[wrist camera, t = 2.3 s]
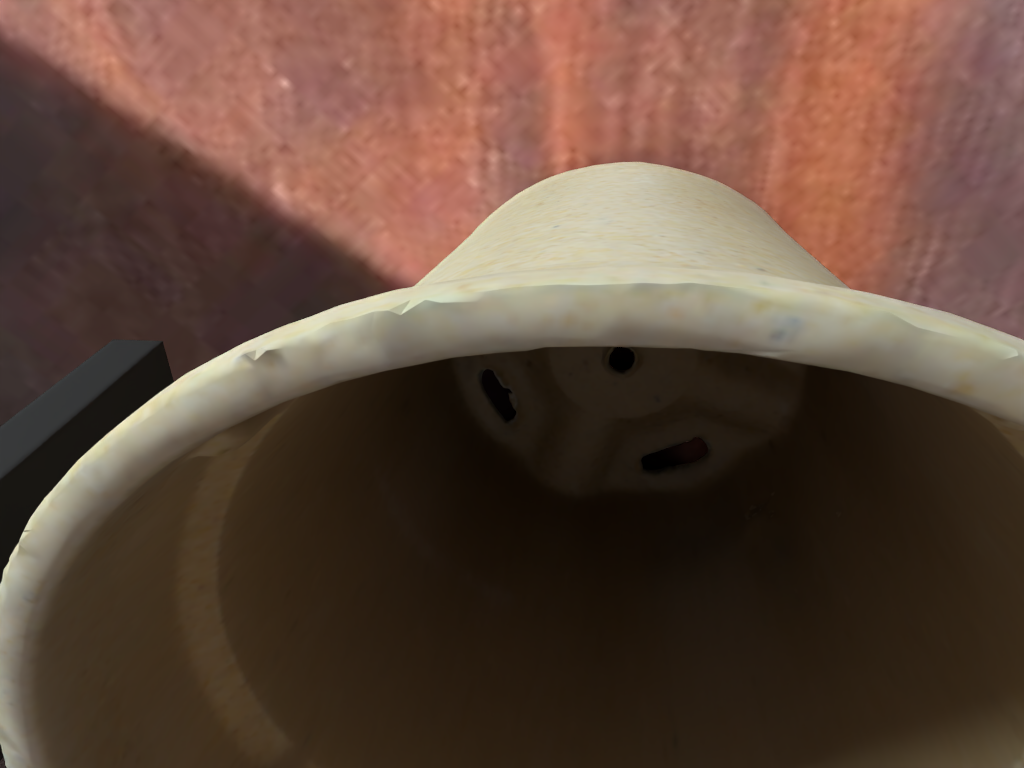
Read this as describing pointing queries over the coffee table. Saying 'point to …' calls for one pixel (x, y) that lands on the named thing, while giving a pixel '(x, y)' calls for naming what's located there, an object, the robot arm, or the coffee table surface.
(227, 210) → the coffee table surface
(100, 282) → the coffee table surface
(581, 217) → the flower pot
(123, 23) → the coffee table surface
